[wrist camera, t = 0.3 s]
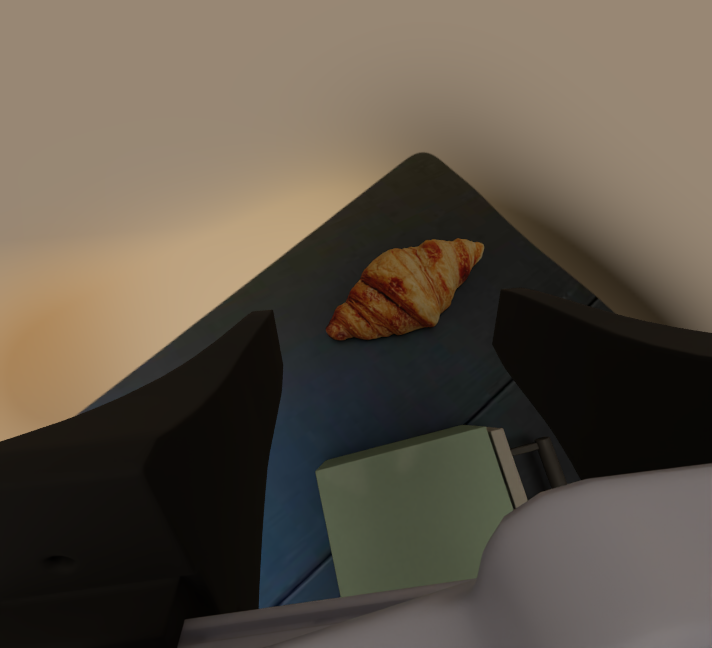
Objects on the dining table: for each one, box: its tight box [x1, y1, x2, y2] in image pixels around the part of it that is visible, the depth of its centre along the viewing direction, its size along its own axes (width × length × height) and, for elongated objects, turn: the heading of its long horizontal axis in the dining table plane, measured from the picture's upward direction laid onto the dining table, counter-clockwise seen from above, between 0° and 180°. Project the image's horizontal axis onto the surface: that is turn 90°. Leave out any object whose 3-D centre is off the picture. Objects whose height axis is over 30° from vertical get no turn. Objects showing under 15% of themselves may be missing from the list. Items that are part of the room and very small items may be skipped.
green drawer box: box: [315, 425, 513, 597], centre depth 33 cm, size 15×12×8 cm
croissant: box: [326, 238, 484, 340], centre depth 40 cm, size 21×10×8 cm, turn 123°
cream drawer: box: [486, 427, 567, 510], centre depth 33 cm, size 19×11×6 cm, turn 104°
